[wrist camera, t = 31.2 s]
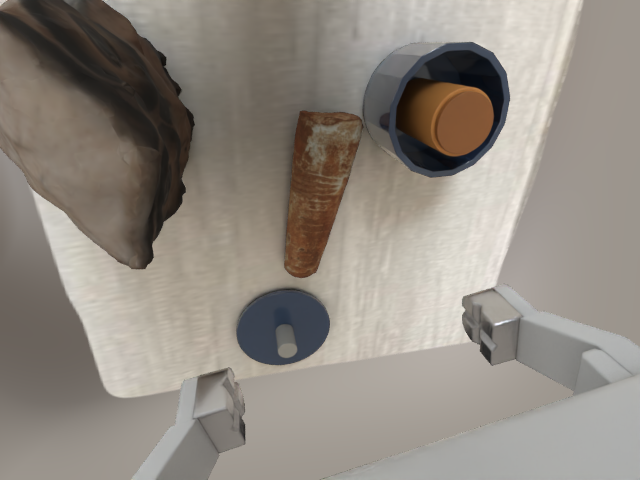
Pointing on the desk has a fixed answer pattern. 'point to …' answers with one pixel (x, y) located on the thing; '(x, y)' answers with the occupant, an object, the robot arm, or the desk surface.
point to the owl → (93, 120)
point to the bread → (318, 184)
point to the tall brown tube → (445, 115)
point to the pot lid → (283, 327)
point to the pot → (441, 65)
